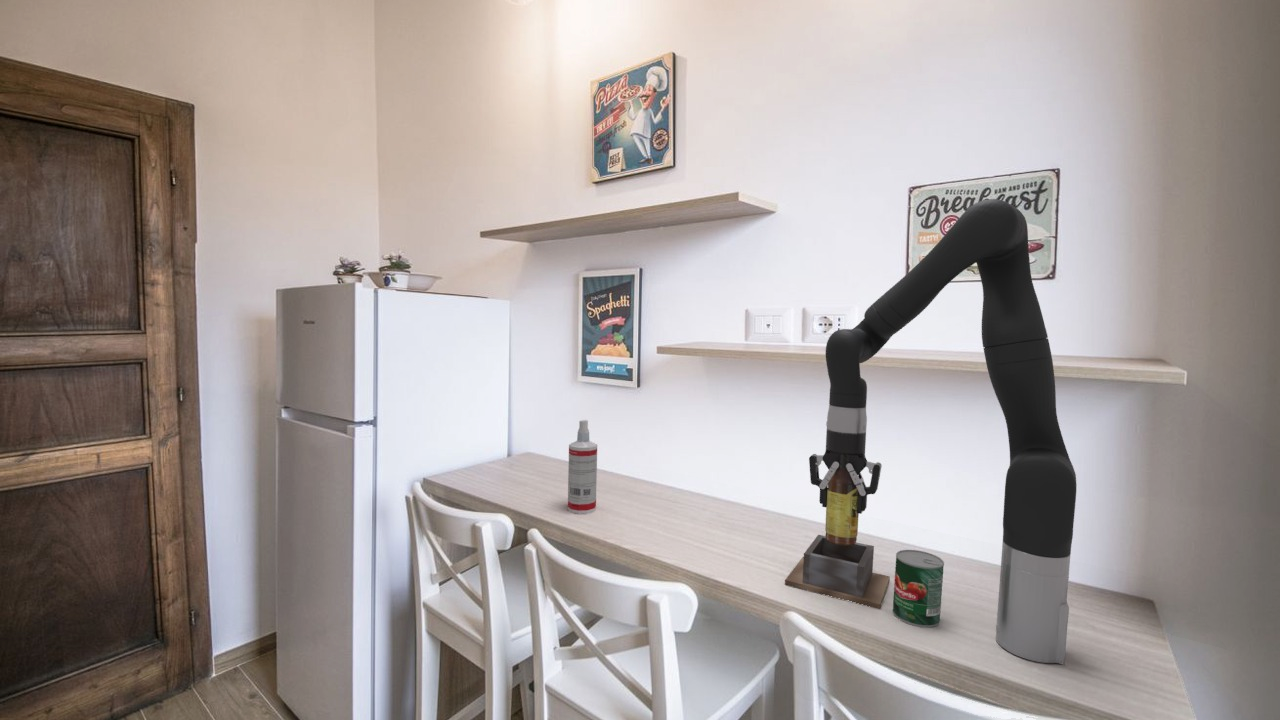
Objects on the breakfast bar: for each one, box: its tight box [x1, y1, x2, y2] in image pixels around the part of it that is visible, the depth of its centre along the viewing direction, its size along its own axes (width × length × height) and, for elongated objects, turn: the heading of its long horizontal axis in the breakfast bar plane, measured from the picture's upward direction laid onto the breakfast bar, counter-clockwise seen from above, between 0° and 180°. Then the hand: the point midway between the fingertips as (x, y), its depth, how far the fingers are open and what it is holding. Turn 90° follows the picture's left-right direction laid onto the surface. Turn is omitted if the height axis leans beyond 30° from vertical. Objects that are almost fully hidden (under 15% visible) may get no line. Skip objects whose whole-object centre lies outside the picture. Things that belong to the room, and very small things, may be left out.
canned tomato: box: [891, 549, 945, 628], centre depth 104 cm, size 8×8×11 cm
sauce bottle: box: [824, 454, 860, 546], centre depth 116 cm, size 6×6×20 cm
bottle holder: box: [784, 534, 891, 610], centre depth 117 cm, size 18×14×7 cm
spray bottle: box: [567, 419, 598, 515], centre depth 158 cm, size 8×8×25 cm
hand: (842, 509), depth 116 cm, fingers closed on sauce bottle, 6 cm apart
